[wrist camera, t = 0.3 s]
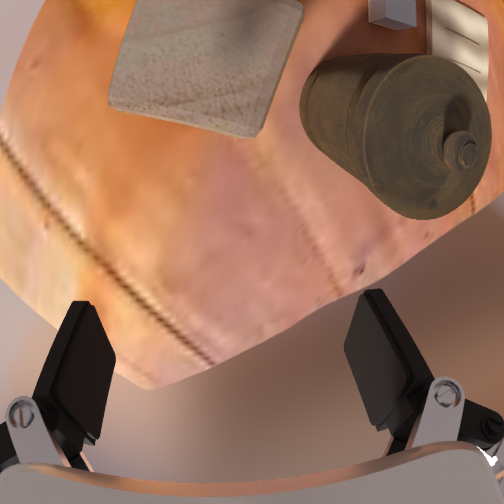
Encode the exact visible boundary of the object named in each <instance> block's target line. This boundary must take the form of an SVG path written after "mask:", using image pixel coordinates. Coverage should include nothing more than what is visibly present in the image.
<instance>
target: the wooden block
mask: <svg viewBox="0 0 504 504" xmlns="http://www.w3.org/2000/svg"><path fill="white" fill-rule="evenodd" d="M303 18H304V9H303V5H302V4H301V3H300V2H298V1H297V0H137V2H136V4H135V7H134V9H133V12H132V15H131V17H130V20H129V23H128V26H127V29H126V32H125V35H124V38H123V41H122V44H121V47H120V50H119V54H118V57H117V60H116V64H115V68H114V71H113V75H112V79H111V83H110V87H109V91H108V104H109V106H111V107H112V108H114V109H115V110H117V111H118V112H124V113H130V114H136V115H141V116H146V117H151V118H156V119H161V120H166V121H171V122H175V123H180V124H184V125H189V126H193V127H197V128H201V129H205V130H209V131H213V132H217V133H221V134H224V135H228V136H232V137H235V138H239V139H250V138H255V137H256V135H257V134H258V133H259V132H260V131H261V130H262V128H263V125H264V123H265V120H266V117H267V114H268V111H269V109H270V106H271V103H272V100H273V98H274V95H275V92H276V89H277V87H278V84H279V81H280V79H281V76H282V73H283V71H284V68H285V65H286V63H287V60H288V57H289V55H290V52H291V49H292V47H293V44H294V42H295V39H296V36H297V34H298V31H299V29H300V26H301V24H302V21H303Z"/></svg>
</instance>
